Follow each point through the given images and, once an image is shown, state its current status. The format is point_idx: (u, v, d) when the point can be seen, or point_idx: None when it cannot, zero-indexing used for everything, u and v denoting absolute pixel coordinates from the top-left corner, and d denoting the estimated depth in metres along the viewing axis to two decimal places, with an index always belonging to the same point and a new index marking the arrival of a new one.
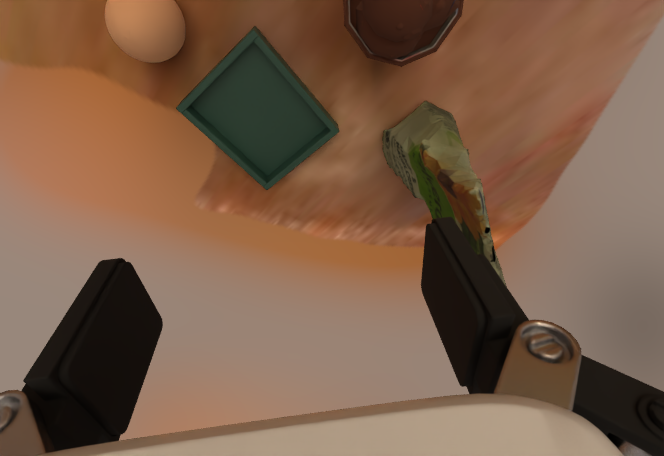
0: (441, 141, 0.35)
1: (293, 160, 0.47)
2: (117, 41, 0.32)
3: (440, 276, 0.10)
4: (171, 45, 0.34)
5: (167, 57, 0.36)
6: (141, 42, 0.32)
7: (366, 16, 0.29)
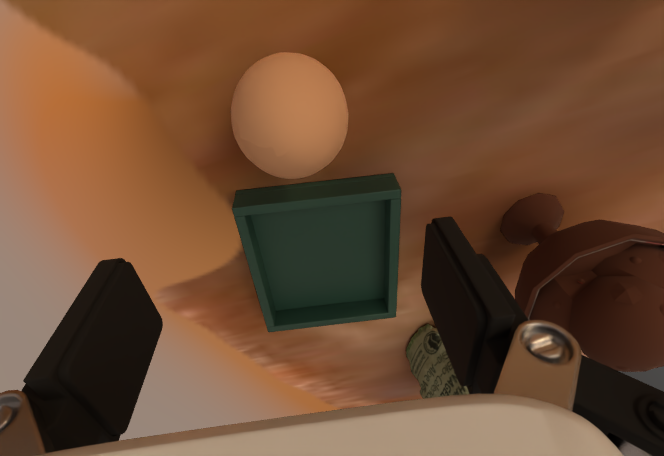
0: None
1: (323, 318, 0.35)
2: (249, 138, 0.18)
3: (440, 276, 0.10)
4: None
5: None
6: (289, 167, 0.18)
7: (590, 327, 0.21)
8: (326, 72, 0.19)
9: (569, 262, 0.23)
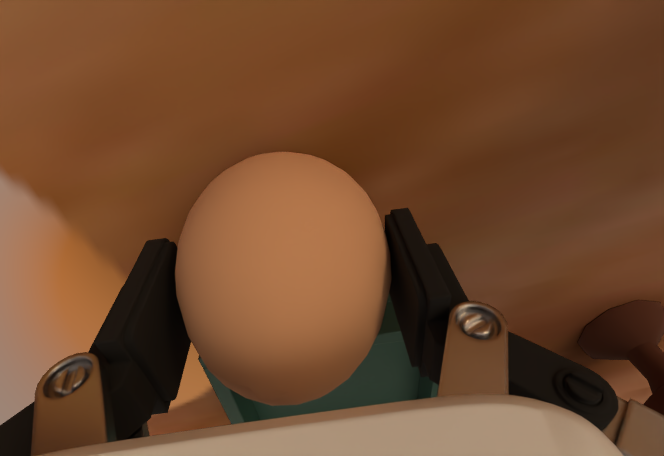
0: None
1: None
2: (203, 355, 0.09)
3: (395, 264, 0.11)
4: None
5: None
6: None
7: None
8: (354, 202, 0.10)
9: None
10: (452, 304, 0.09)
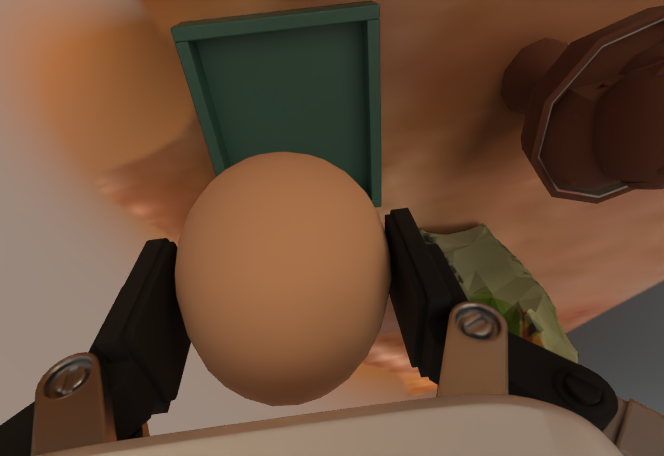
0: (550, 324, 0.23)
1: None
2: (203, 355, 0.09)
3: (395, 264, 0.11)
4: None
5: None
6: None
7: (622, 120, 0.16)
8: (353, 202, 0.10)
9: (591, 53, 0.18)
10: (452, 304, 0.09)
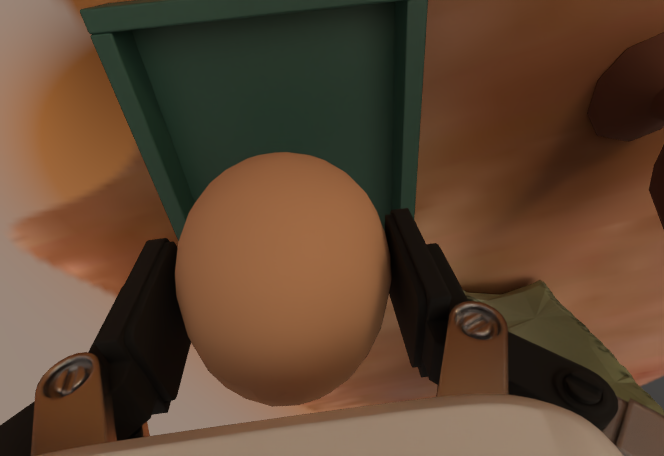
0: None
1: None
2: (203, 355, 0.09)
3: (395, 264, 0.11)
4: None
5: None
6: None
7: None
8: (353, 202, 0.10)
9: None
10: (452, 304, 0.09)
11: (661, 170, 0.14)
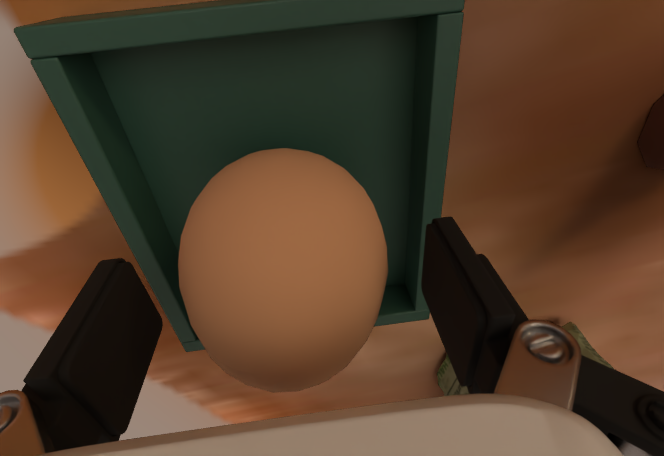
0: None
1: None
2: (206, 343, 0.09)
3: (440, 276, 0.10)
4: None
5: None
6: (285, 391, 0.09)
7: None
8: (351, 196, 0.10)
9: None
10: None
11: None
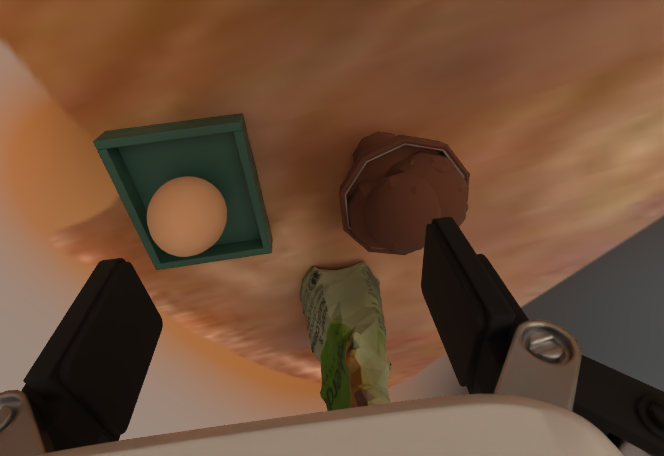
0: (370, 342, 0.32)
1: (206, 255, 0.39)
2: (154, 237, 0.30)
3: (440, 276, 0.10)
4: None
5: None
6: (179, 253, 0.30)
7: (368, 213, 0.26)
8: (204, 192, 0.31)
9: (360, 166, 0.27)
10: None
11: None
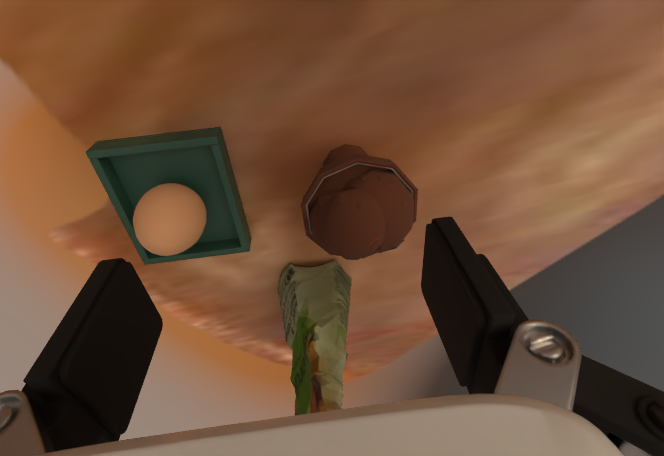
0: (330, 335, 0.36)
1: (189, 252, 0.43)
2: (138, 239, 0.34)
3: (440, 276, 0.10)
4: None
5: None
6: (161, 253, 0.34)
7: (322, 224, 0.30)
8: (184, 199, 0.35)
9: (317, 181, 0.31)
10: None
11: None
